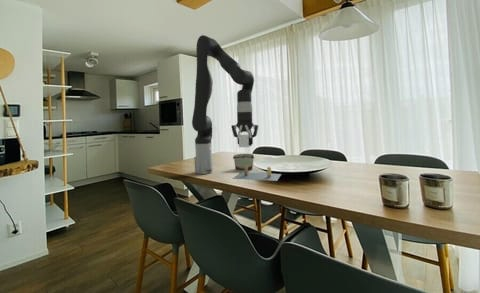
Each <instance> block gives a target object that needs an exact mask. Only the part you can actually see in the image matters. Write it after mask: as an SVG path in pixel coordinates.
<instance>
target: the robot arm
mask: <svg viewBox="0 0 480 293" xmlns="http://www.w3.org/2000/svg"><path fill="white" fill-rule="evenodd" d="M195 47H196V74H195V90H194V91H195V93H194V108H193V114H192V120H191V125H192V128H193V130H194V131H195V132H197V135H196V136H195V139H194V145H195V146H194V148H195V150H194V151H195V156H194V173H195V174H199V175H207V174H212V173H213V157H212V156H213V155H212V154H213V153H212V152H213V151H212V139H213V121H212V119H211V117H210V116H208V115H207V110H208V104H209V102H210V99H211V97H212V95H213V94H212V93H213V83H214V82H213V77H212V74H211V70H210V67H209V63H208V57H211V58H213V59H215V60H216V61H218V63H219V66H220V67H221V68H222V69H223V70H224V71H225V72H226V73H227V74H228V75H229V76H230V78H231V79H232V81H233V82H234V83H236V84H237V85H240V86H241V89H240V90H237V93H236V94H237V95H236V101H237V102H236V115H237V116H236V119H237V121H236V124H233V125H231V131H232V135H233V137H234V138H237V139H236V140H237V145H239V135H243V133H247V135H249V137H250V138H249V146H251V147H252V145H253V144H254V139H253V138H255V137H257V134H258V132H259V131H258V130H259V125H258V124H254V123H253V105H252V92H253V88H254V85H255V84H254V82H255V78H254V77H255V76H254V74H253V72H251V71H250V70H249V71H248V70H244V69H242V68H241V65H240V64H239V63H238V61H237V60H235V59H234V58H232V57H231V56H230V55H229V54H228V53H227V52H226V51H225V50H224V49H223V47H222V46H221V45H220V44H219V43H218V41H217V40H215V39H214V38H212V37H210V36H208V35H204V34H203V35H200V36H199V37H198V38H197V41H196V46H195ZM237 128H238V132H237ZM252 128H253V129H254V130H253V131H252Z"/></svg>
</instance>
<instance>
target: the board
mask: <svg viewBox="0 0 480 293" xmlns="http://www.w3.org/2000/svg"><path fill="white" fill-rule="evenodd" d="M248 171H249V170H248V169H247V166H244V170H243V172H239V173H238V174H236V175H235V176H234V177H232V179H234V180H235V179H236V180H252V181H253V180H255V181H270V182H271V181H272V182H273V181H274V182H277V181H278V180H279V179H280V177H281V176H282V173H272V168H271V166H268V167H267V170H266V171H267V172H266V173H265V172H263V173H262V172H248Z"/></svg>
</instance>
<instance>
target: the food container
mask: <svg viewBox="0 0 480 293" xmlns="http://www.w3.org/2000/svg"><path fill="white" fill-rule="evenodd" d="M254 159H255V156H254V154H251V153H237V154H236V153H235V154H234V155H233V156H232V160H233V161H234V167H235V168H234V170H236V171H239V170H240V171H241V170H242V171H244V166H247V169H248V171H252V170H253V165H254V164H253V163H254Z"/></svg>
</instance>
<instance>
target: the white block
mask: <svg viewBox="0 0 480 293" xmlns="http://www.w3.org/2000/svg"><path fill="white" fill-rule="evenodd" d="M249 138H250V137H249V135H248V134H242V135H239V144H238V148H251V147H252V145H251V146H249Z"/></svg>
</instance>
